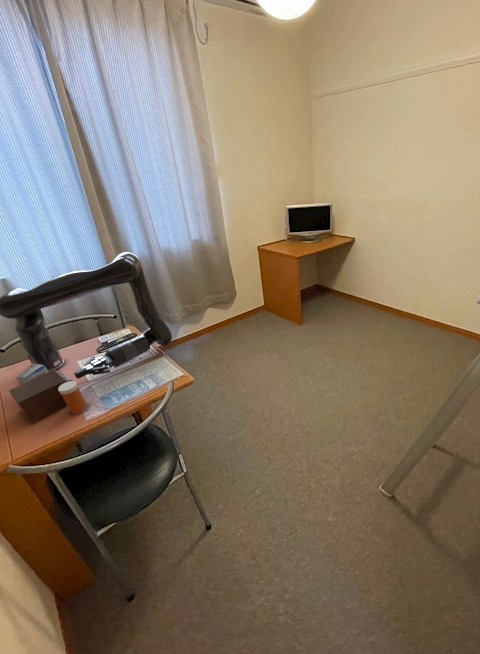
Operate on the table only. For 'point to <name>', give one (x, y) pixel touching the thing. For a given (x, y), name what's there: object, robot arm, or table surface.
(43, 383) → the dark brown box
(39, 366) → the medicine box
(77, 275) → the robot arm
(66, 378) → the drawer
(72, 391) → the pill bottle
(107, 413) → the table surface
